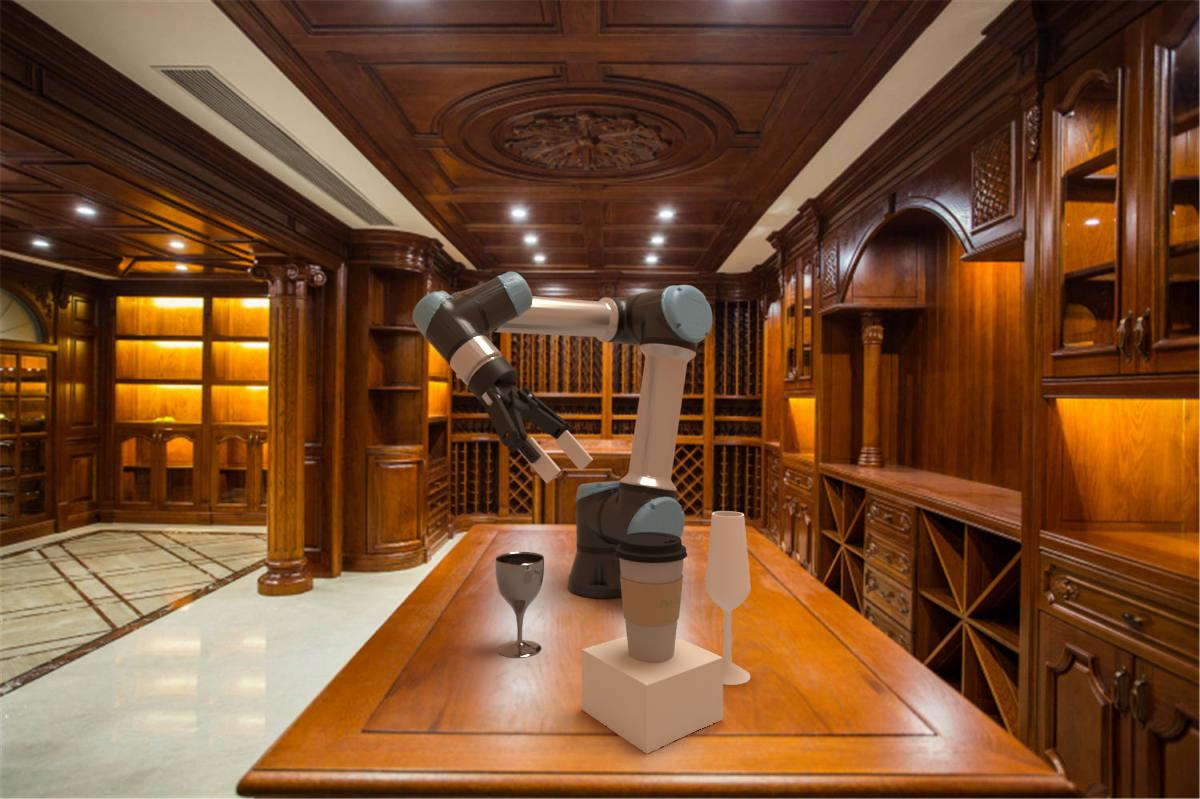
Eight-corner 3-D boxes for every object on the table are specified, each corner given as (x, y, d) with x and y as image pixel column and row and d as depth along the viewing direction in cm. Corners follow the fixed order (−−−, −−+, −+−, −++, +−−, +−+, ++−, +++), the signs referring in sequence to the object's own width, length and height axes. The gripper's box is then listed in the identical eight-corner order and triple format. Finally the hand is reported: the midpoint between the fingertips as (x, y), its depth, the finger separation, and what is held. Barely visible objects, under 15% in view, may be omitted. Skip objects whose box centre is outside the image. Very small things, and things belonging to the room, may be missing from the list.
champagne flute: (741, 689, 89) (742, 520, 89) (697, 677, 93) (697, 515, 93) (756, 671, 95) (757, 512, 95) (714, 661, 98) (715, 508, 98)
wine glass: (551, 643, 106) (551, 554, 106) (531, 661, 98) (531, 566, 98) (509, 637, 108) (509, 550, 108) (486, 654, 101) (486, 561, 101)
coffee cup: (684, 672, 76) (684, 548, 76) (608, 665, 78) (608, 544, 78) (689, 642, 85) (689, 532, 85) (621, 636, 87) (621, 529, 87)
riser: (581, 709, 83) (581, 649, 83) (654, 682, 91) (655, 627, 91) (646, 754, 73) (646, 685, 73) (723, 719, 81) (723, 657, 81)
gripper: (506, 387, 113) (583, 475, 109) (425, 388, 89) (519, 501, 85) (533, 357, 111) (613, 446, 107) (457, 351, 88) (555, 464, 83)
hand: (571, 470), depth 96 cm, fingers open, 13 cm apart
